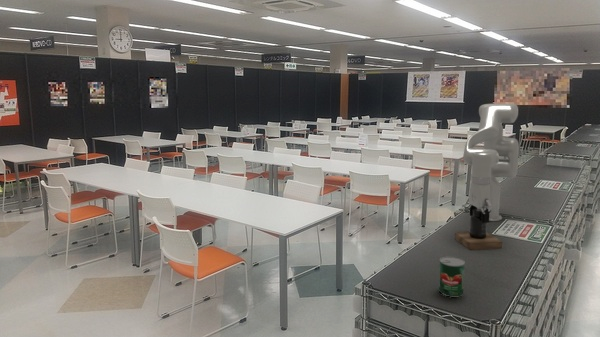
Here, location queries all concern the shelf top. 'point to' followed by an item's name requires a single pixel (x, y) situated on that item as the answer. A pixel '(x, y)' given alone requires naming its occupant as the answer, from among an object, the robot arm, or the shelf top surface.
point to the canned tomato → (451, 276)
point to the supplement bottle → (477, 225)
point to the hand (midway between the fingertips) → (479, 219)
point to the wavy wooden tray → (478, 241)
